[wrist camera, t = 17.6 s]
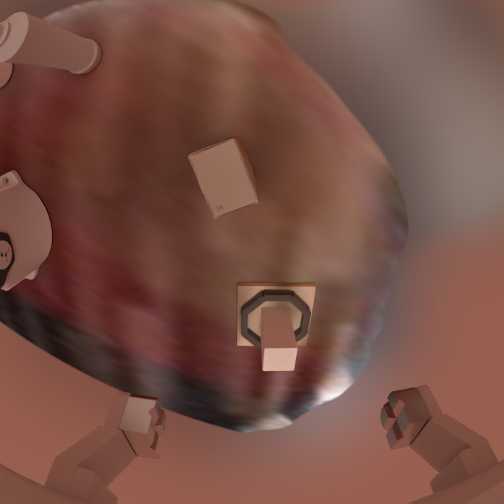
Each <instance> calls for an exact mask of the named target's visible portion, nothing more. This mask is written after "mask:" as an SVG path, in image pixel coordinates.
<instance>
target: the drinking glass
mask: <svg viewBox="0 0 504 504" xmlns="http://www.w3.org/2000/svg"><path fill="white" fill-rule="evenodd" d="M12 70H13V64H12V63H5V62H0V88H1V87H3V86H4V85H5V84H6V83H7V82H8V80H9V79H10V77H11V74H12Z"/></svg>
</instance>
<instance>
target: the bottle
mask: <svg viewBox="0 0 504 504" xmlns="http://www.w3.org/2000/svg"><path fill="white" fill-rule="evenodd" d="M101 54H102V51H101V48H100V46H99V44H98V43H96V42H95V41H94V40H92V39H87V38H83V37H81V36H78V35H76V34H74V33H72V32H70V31H67V30H65V29H63V28H61V27H58V26H56V25H54V24H51V23H49V22H47V21H44V20H42V19H39V18H37V17H34V16H32V15H29V14H26V13H24V12H19V13H15V14H14V15H12V16H10V17H9V18H8V19H7V20H6V21H3V22H1V23H0V62H5V63H17V64H27V65H36V66H43V67H51V68H57V69H64V70H69V71H70V72H71V73H75V74H85V73H89V72H90V71H92V70H93V69H95V67H96V66H97V65H98V64H99V61H100V59H101Z"/></svg>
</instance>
